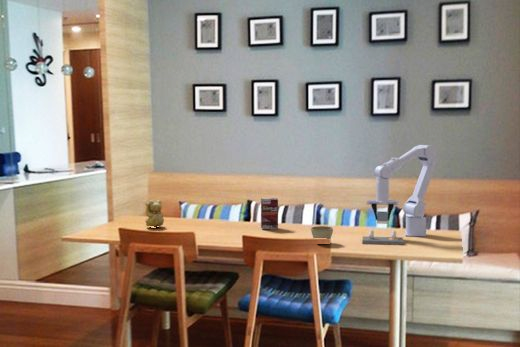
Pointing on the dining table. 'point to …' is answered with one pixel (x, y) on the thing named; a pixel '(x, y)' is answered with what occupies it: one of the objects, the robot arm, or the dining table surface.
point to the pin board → (382, 239)
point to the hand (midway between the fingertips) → (382, 219)
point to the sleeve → (382, 217)
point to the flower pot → (322, 232)
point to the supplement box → (269, 213)
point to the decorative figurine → (154, 213)
